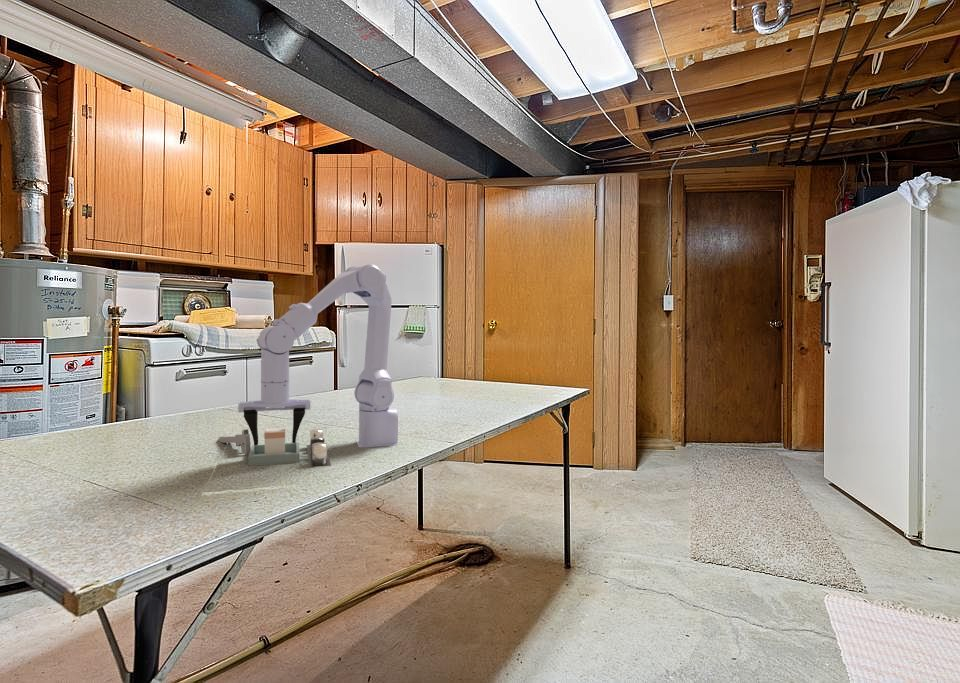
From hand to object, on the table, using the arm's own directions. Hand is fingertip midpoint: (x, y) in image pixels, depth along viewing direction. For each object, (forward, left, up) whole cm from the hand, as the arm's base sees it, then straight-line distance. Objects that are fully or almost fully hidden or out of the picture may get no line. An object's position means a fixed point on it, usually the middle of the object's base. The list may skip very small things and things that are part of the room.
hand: (275, 443), depth 113 cm
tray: (0, 0, -4) cm, 4 cm away
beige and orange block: (0, 0, -3) cm, 3 cm away
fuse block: (-9, 0, -4) cm, 10 cm away
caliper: (+10, -13, -4) cm, 17 cm away
